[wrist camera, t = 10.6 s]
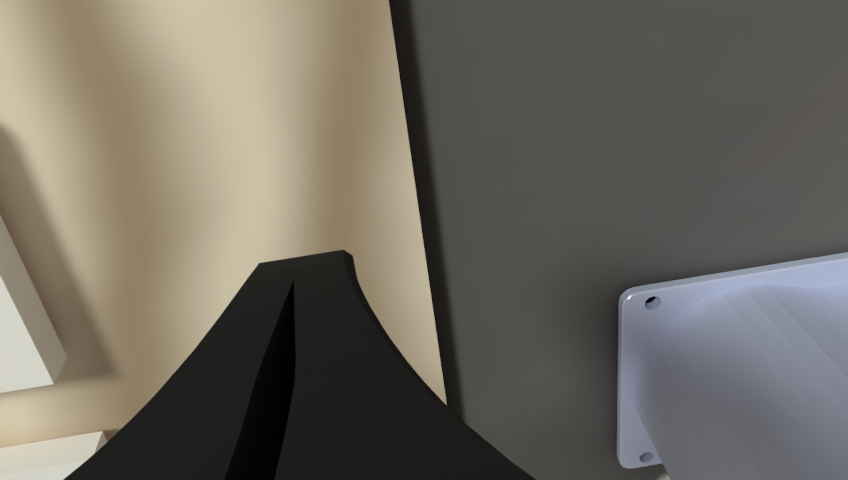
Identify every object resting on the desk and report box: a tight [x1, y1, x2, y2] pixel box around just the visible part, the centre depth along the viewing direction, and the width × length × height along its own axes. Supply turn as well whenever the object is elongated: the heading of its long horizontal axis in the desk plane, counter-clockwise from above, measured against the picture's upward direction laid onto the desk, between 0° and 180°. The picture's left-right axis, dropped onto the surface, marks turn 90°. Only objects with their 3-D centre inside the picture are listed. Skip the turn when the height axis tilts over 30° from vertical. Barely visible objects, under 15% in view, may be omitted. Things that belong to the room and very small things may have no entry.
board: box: [0, 0, 447, 448], centre depth 23 cm, size 17×22×1 cm
